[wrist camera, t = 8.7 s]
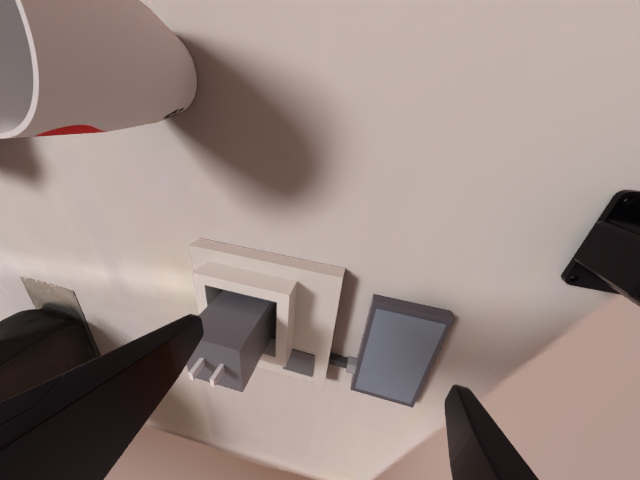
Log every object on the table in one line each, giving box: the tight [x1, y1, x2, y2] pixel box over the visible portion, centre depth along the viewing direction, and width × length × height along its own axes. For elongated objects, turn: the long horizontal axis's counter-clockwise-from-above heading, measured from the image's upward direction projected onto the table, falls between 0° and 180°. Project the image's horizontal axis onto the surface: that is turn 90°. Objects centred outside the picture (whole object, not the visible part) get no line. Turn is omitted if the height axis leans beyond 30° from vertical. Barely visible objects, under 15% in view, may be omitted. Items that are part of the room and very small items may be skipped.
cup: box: [0, 0, 197, 139], centre depth 13 cm, size 8×8×10 cm
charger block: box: [187, 290, 275, 392], centre depth 19 cm, size 4×4×7 cm
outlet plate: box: [189, 238, 345, 387], centre depth 23 cm, size 14×14×4 cm
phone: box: [351, 294, 454, 407], centre depth 22 cm, size 6×12×1 cm, turn 174°
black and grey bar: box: [329, 354, 357, 374], centre depth 24 cm, size 3×1×1 cm, turn 84°
